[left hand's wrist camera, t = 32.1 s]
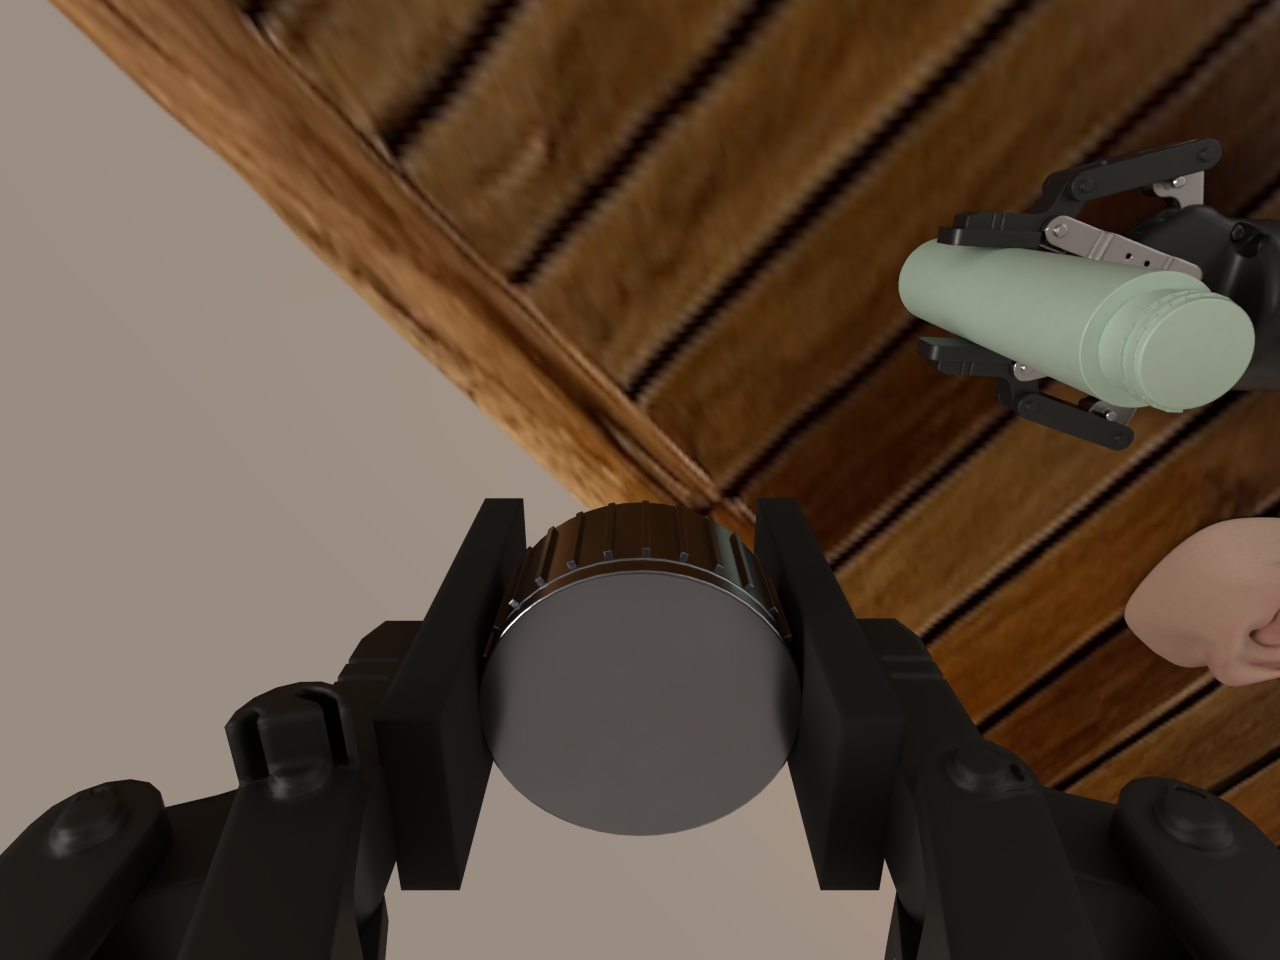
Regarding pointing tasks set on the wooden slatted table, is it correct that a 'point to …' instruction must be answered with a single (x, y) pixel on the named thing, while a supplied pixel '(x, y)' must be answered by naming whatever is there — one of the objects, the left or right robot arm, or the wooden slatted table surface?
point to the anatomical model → (1216, 602)
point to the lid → (640, 672)
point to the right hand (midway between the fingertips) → (935, 294)
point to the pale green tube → (1086, 321)
